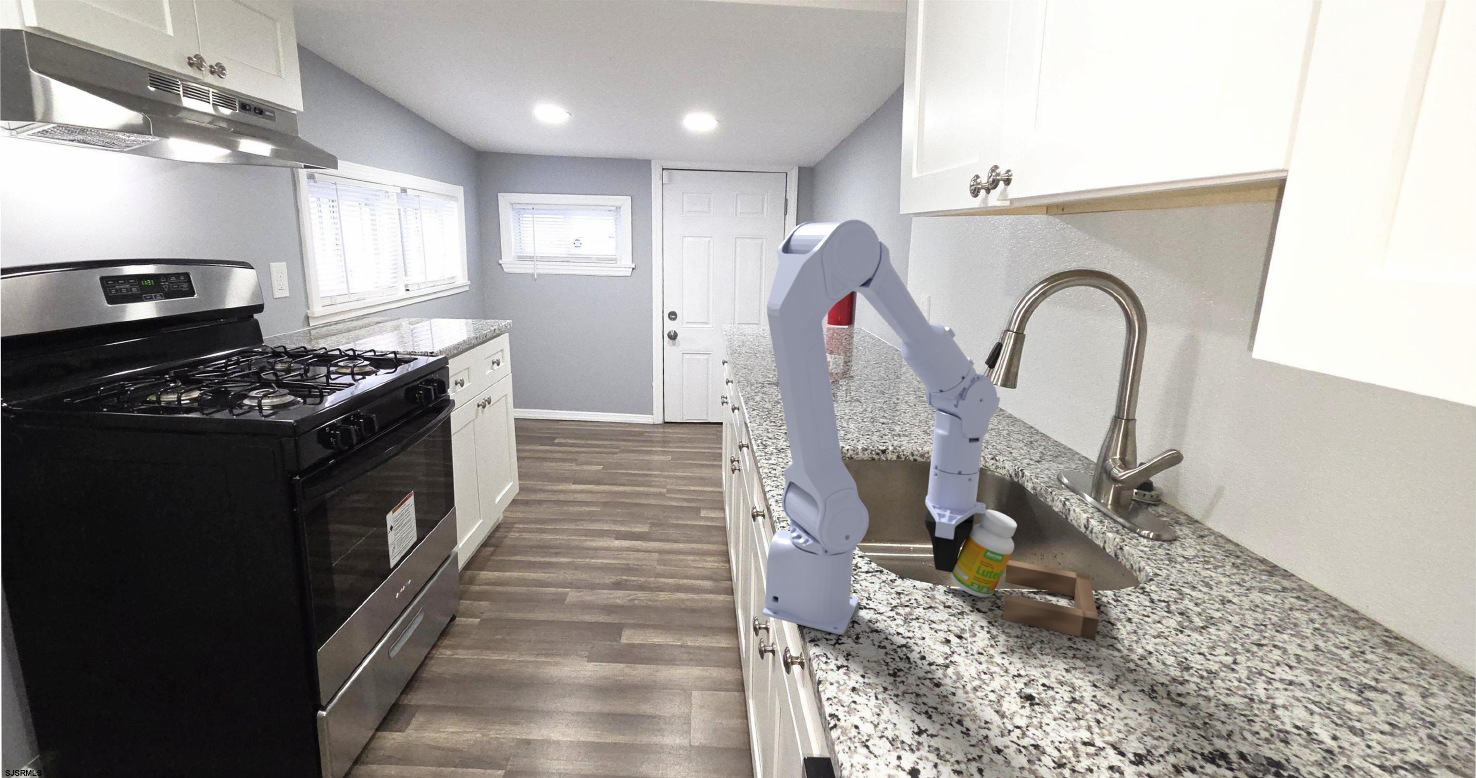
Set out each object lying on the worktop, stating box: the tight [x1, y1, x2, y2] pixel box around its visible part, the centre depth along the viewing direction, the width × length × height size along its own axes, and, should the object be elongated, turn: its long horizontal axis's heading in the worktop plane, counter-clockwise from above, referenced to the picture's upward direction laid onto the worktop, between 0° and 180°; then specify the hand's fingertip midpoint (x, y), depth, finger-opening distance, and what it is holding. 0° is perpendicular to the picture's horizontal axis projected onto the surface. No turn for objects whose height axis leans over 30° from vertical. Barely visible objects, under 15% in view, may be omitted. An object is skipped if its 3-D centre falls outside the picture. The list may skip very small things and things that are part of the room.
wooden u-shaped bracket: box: [1002, 559, 1099, 641], centre depth 78 cm, size 10×11×2 cm
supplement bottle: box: [950, 509, 1018, 598], centre depth 80 cm, size 5×5×10 cm
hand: (944, 568), depth 83 cm, fingers closed, pressing on supplement bottle
